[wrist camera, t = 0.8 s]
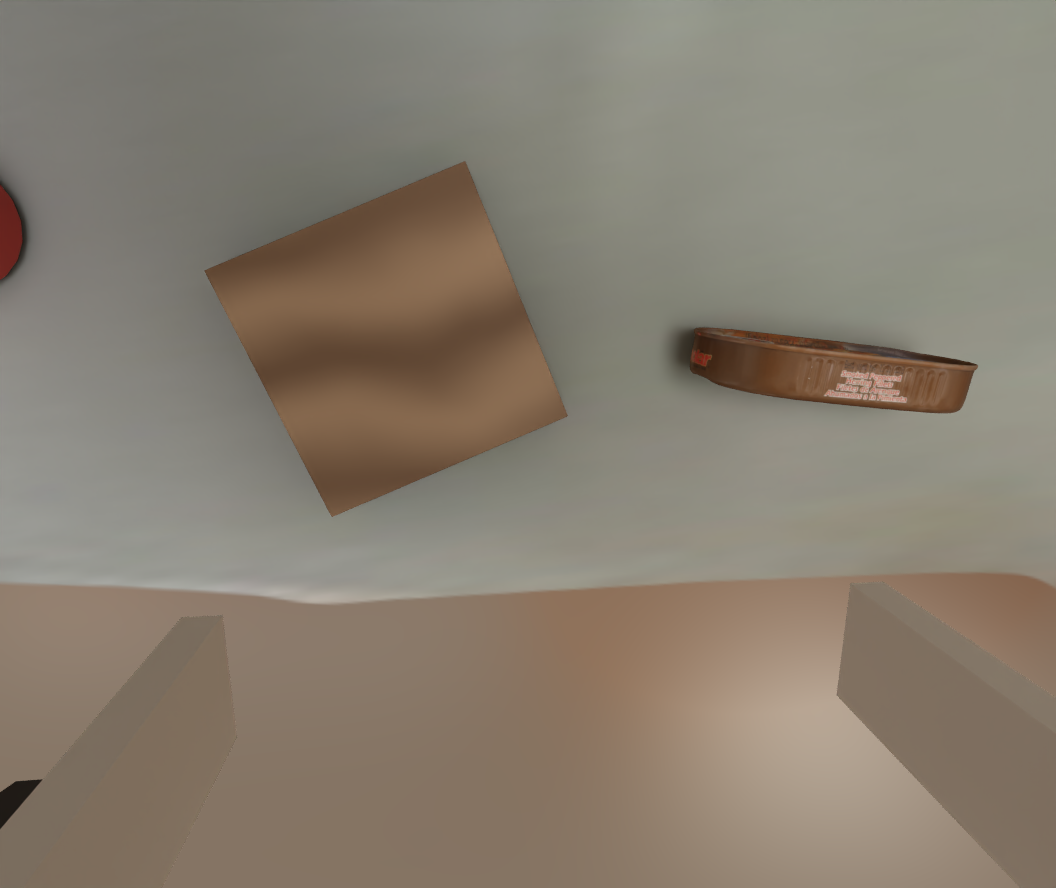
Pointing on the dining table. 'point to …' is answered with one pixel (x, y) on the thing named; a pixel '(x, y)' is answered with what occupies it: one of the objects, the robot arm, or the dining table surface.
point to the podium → (391, 339)
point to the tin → (830, 371)
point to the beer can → (9, 233)
